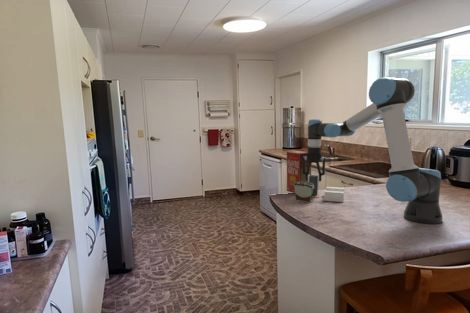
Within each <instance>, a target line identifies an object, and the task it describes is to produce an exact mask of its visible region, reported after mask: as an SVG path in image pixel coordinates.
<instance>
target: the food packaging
mask: <svg viewBox="0 0 470 313" xmlns="http://www.w3.org/2000/svg"><path fill="white" fill-rule="evenodd" d="M307 154H308V151H302V150H291V151H290V150H289V151H286V192H290V193H293V194H295V189H294V186H293V184H294V182H300V181H302V182H308V181H306V175H305V174H303V160H302V157H305V156H307ZM308 165H309V160H308V158H307V159H306V172H307V169H308ZM309 175H312V166H311V167H310V171H309Z"/></svg>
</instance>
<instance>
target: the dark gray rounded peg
mask: <svg viewBox="0 0 470 313" xmlns="http://www.w3.org/2000/svg"><path fill="white" fill-rule="evenodd" d="M309 182H311V183H313V185H314V189H313V193H312V195H314V196H315V195H319V194H318V193H319V191H318V190H319V189H318V188H319V187H317V183H318V175H316V174H311V175H310V176H309Z"/></svg>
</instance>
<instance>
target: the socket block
mask: <svg viewBox="0 0 470 313" xmlns="http://www.w3.org/2000/svg"><path fill="white" fill-rule="evenodd" d="M345 194H346V188H345V187H338V186H337V187H336V186H326V188H325V190H324V195H323V196H324V199H323V200H324V201H326V202H337V203H344V201H345Z"/></svg>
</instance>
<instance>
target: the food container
mask: <svg viewBox="0 0 470 313" xmlns="http://www.w3.org/2000/svg"><path fill="white" fill-rule="evenodd" d="M293 186H294V189H295V193H294V198H295V200H294V201H298V202H299V201H300V202H304V203H308V204H309V203H310V204H311V203H312V199H313V198H312V193H313V189H314V185H313V183H311V182H302V181H300V182H294V184H293Z"/></svg>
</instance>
